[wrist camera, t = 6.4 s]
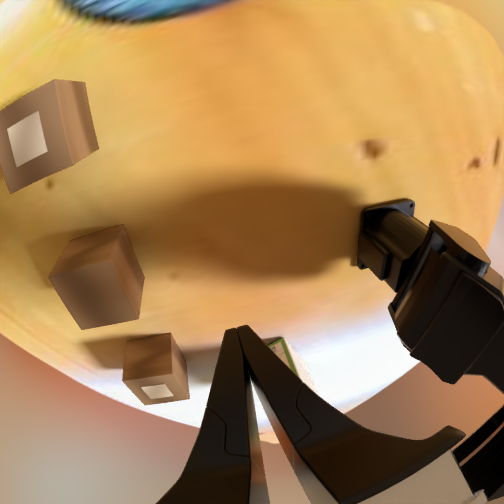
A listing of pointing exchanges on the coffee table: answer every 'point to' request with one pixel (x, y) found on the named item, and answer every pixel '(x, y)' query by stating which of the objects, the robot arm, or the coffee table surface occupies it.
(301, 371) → the ink box
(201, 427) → the robot arm
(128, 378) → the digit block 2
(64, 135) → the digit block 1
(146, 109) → the coffee table surface
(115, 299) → the plain block
